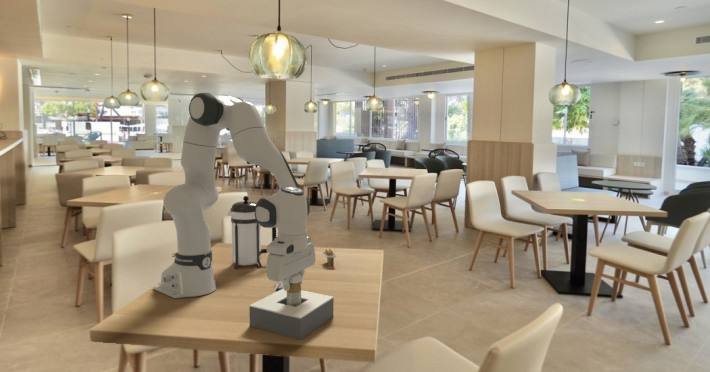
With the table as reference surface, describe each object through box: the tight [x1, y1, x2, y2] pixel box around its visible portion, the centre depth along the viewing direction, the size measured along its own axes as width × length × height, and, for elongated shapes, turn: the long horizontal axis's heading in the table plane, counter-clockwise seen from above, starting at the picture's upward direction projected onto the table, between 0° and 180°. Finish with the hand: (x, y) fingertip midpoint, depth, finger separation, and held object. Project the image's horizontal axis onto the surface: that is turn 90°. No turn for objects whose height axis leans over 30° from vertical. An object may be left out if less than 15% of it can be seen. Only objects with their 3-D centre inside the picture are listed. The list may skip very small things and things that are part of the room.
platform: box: [322, 248, 337, 267], centre depth 196 cm, size 12×18×7 cm, turn 18°
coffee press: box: [226, 195, 277, 270], centre depth 191 cm, size 17×16×30 cm
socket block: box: [248, 288, 335, 340], centre depth 135 cm, size 18×18×6 cm
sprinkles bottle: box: [287, 273, 302, 307], centre depth 135 cm, size 5×5×14 cm
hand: (293, 287), depth 134 cm, fingers closed on sprinkles bottle, 4 cm apart
